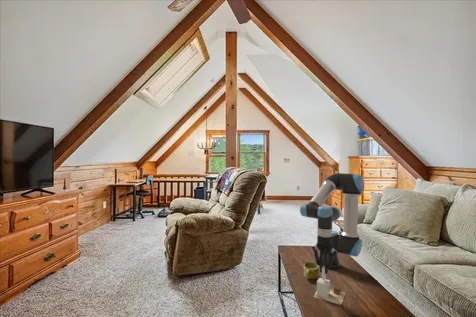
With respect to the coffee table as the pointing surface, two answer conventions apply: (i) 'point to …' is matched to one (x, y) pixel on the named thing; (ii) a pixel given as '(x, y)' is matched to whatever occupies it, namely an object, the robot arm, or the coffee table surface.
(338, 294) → the board
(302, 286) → the coffee table surface
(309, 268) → the mug
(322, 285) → the pale green block
